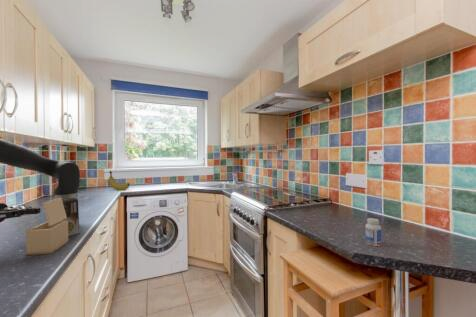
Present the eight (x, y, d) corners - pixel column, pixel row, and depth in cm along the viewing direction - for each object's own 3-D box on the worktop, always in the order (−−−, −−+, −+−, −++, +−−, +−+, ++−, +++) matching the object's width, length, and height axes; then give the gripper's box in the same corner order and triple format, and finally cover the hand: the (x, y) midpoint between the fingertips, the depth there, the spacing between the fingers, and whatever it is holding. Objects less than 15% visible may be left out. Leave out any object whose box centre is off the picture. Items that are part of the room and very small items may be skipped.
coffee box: (75, 230, 106) (74, 197, 105) (79, 233, 102) (78, 199, 101) (51, 236, 99) (50, 200, 98) (54, 239, 95) (53, 202, 94)
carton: (46, 243, 91) (46, 221, 91) (68, 241, 92) (67, 220, 92) (26, 255, 80) (25, 231, 80) (51, 253, 81) (50, 229, 81)
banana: (131, 189, 227) (130, 170, 227) (127, 190, 222) (127, 171, 221) (111, 189, 230) (110, 170, 230) (107, 190, 224) (106, 171, 224)
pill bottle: (378, 241, 89) (378, 217, 89) (383, 247, 84) (384, 222, 83) (363, 240, 90) (363, 217, 90) (368, 245, 85) (368, 221, 85)
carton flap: (64, 218, 91) (59, 197, 91) (66, 217, 92) (61, 197, 91) (48, 226, 82) (42, 203, 81) (51, 225, 82) (44, 202, 81)
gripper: (-33, 207, 76) (25, 205, 79) (1, 199, 89) (50, 197, 92) (-32, 229, 76) (26, 225, 79) (2, 218, 89) (50, 215, 92)
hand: (39, 210), depth 85 cm, fingers closed
